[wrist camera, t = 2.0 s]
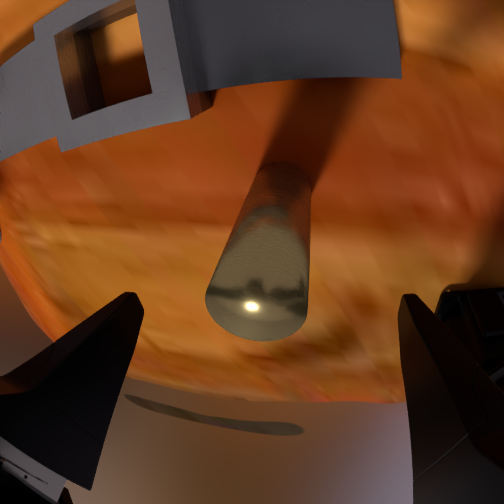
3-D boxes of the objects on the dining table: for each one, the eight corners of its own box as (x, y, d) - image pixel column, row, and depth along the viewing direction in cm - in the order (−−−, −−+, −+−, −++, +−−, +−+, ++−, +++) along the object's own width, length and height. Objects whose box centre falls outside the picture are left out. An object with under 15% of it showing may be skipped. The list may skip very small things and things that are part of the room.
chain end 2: (393, 95, 13) (402, 99, 11) (93, 134, 16) (78, 143, 15) (373, -47, 8) (380, -57, 7) (69, 22, 12) (52, 23, 11)
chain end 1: (212, 106, 15) (190, 118, 12) (17, 163, 18) (-10, 180, 16) (187, -29, 10) (161, -44, 8) (-5, 75, 14) (-36, 85, 11)
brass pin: (312, 213, 17) (308, 341, 10) (257, 216, 18) (217, 338, 11) (309, 159, 15) (305, 266, 8) (248, 163, 16) (193, 268, 9)
